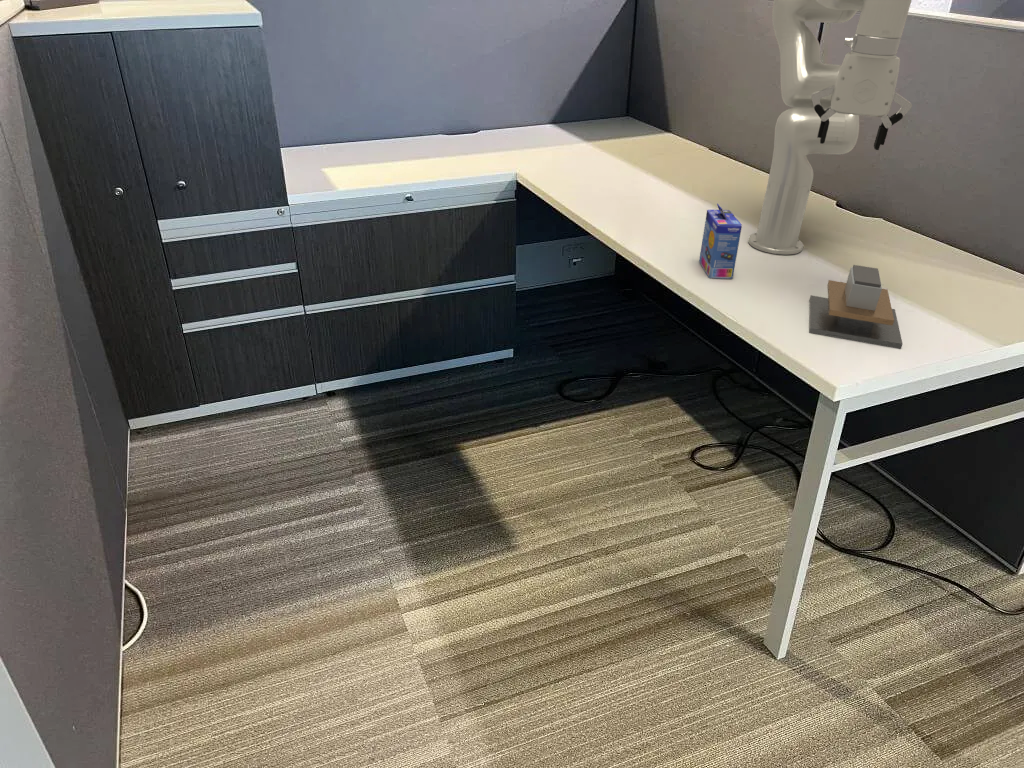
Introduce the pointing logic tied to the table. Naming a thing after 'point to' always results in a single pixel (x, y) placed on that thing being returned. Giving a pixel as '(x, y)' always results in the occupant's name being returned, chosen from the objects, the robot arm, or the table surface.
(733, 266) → the ink cartridge box
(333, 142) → the table surface
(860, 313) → the cardboard on grey plate
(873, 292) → the block
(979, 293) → the table surface
